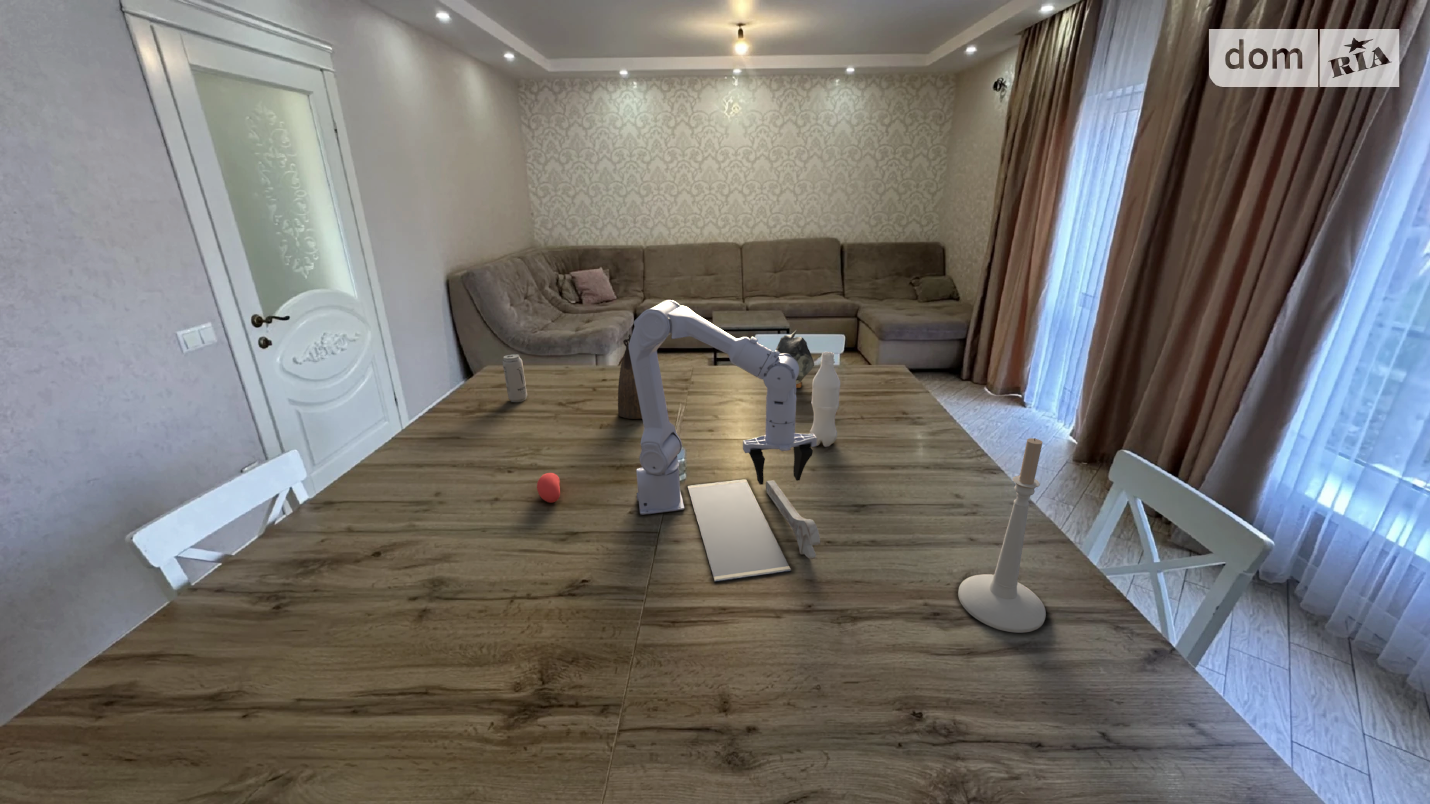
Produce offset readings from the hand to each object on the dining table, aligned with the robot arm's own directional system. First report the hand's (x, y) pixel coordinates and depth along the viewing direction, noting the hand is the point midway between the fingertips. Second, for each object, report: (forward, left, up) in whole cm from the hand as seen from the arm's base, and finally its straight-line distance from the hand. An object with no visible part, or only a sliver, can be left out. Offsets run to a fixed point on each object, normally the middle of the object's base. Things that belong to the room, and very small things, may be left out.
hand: (778, 480), depth 111 cm
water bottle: (+23, +32, -10) cm, 41 cm away
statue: (-26, +63, -10) cm, 69 cm away
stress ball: (-47, +20, -10) cm, 53 cm away
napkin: (-9, 0, -9) cm, 13 cm away
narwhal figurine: (+30, +79, -10) cm, 85 cm away
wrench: (+2, -3, -10) cm, 10 cm away
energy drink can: (-63, +86, -10) cm, 108 cm away
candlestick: (+29, -32, -10) cm, 44 cm away
